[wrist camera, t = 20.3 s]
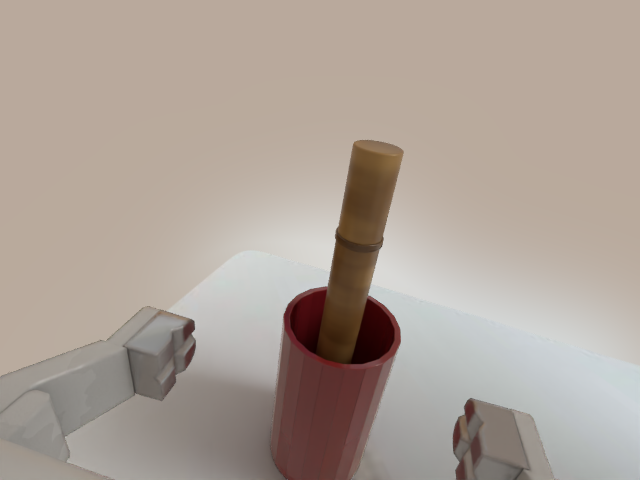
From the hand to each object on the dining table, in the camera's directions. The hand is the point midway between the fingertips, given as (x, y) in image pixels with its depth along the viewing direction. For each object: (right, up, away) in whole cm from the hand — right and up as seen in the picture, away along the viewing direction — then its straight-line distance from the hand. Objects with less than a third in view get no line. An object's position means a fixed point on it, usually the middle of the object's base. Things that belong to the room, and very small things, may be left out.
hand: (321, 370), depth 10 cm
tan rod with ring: (0, -10, +15) cm, 18 cm away
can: (0, -11, +15) cm, 19 cm away
